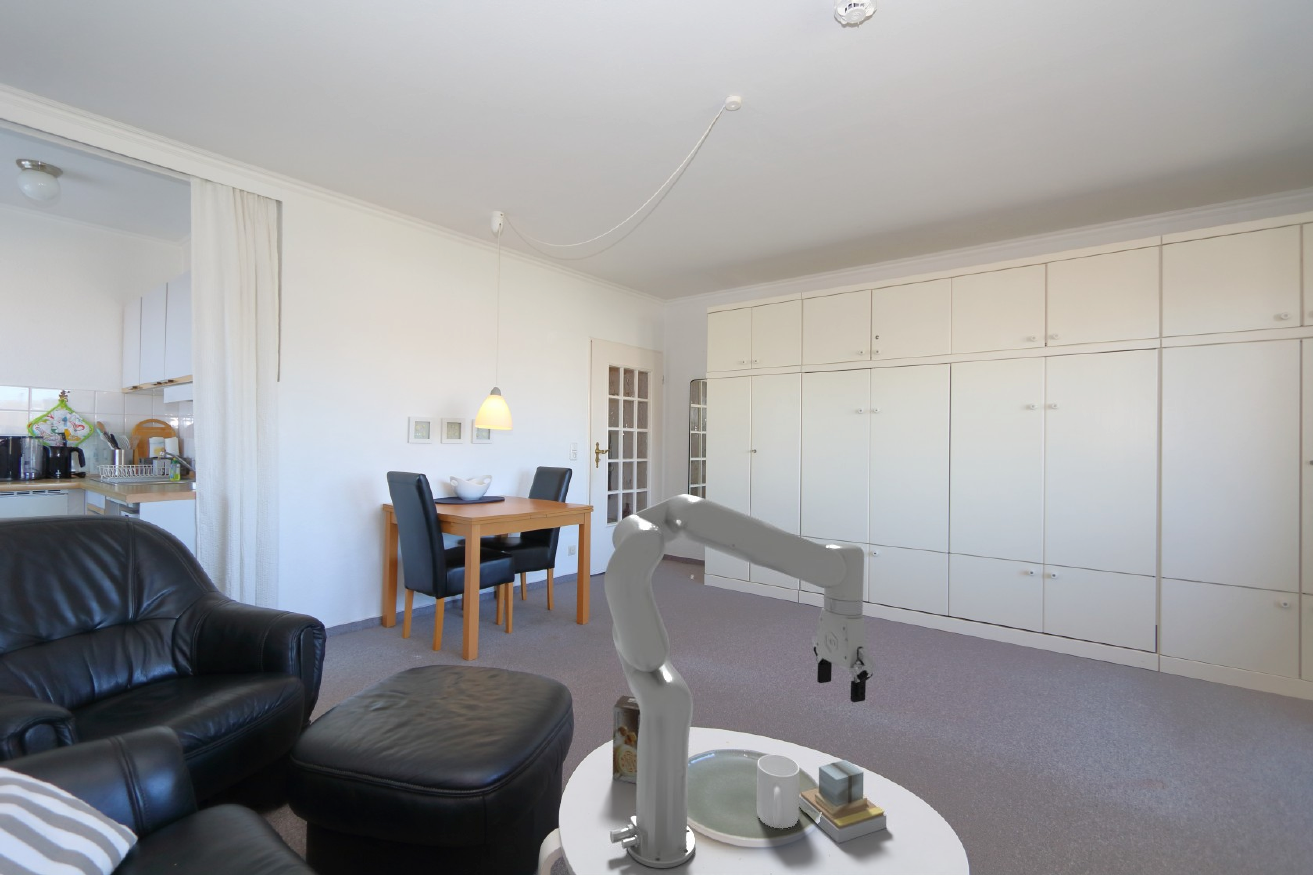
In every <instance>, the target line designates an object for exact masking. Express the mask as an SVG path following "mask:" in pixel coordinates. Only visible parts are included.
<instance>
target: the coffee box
mask: <svg viewBox="0 0 1313 875" xmlns="http://www.w3.org/2000/svg"><path fill="white" fill-rule="evenodd" d="M612 710H613V714H612V715H613V716H612V717H613V718H612V721H613V722H612V723H613V725H612V726H613V727H612V779H613V780H616V781H622V782H628V783H633V784H637V742H638V733H639V727H640V709H639V706H638V704H637V702H636V699H635V697H634V696H627V695H622V696H620V698H618V700H617V701H616V703H615V704H614V706H613V709H612Z"/></svg>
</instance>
